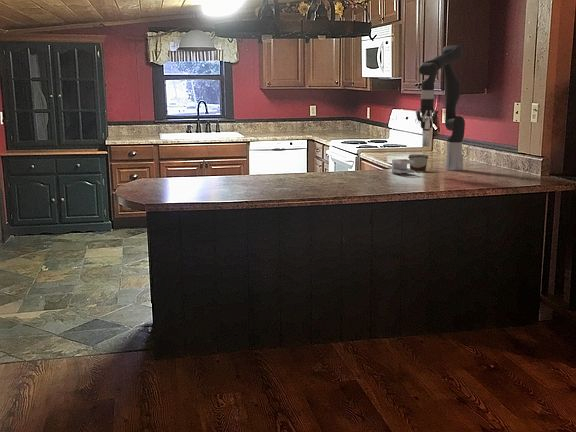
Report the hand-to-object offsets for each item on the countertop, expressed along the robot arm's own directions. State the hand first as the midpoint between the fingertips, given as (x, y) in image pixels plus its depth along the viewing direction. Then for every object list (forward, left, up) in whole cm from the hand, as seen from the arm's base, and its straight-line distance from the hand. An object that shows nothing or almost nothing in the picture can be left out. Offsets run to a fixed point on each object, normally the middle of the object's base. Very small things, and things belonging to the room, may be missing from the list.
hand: (426, 128), depth 375 cm
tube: (0, 0, -10) cm, 10 cm away
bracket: (+10, -8, -27) cm, 30 cm away
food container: (-7, -20, -28) cm, 35 cm away
